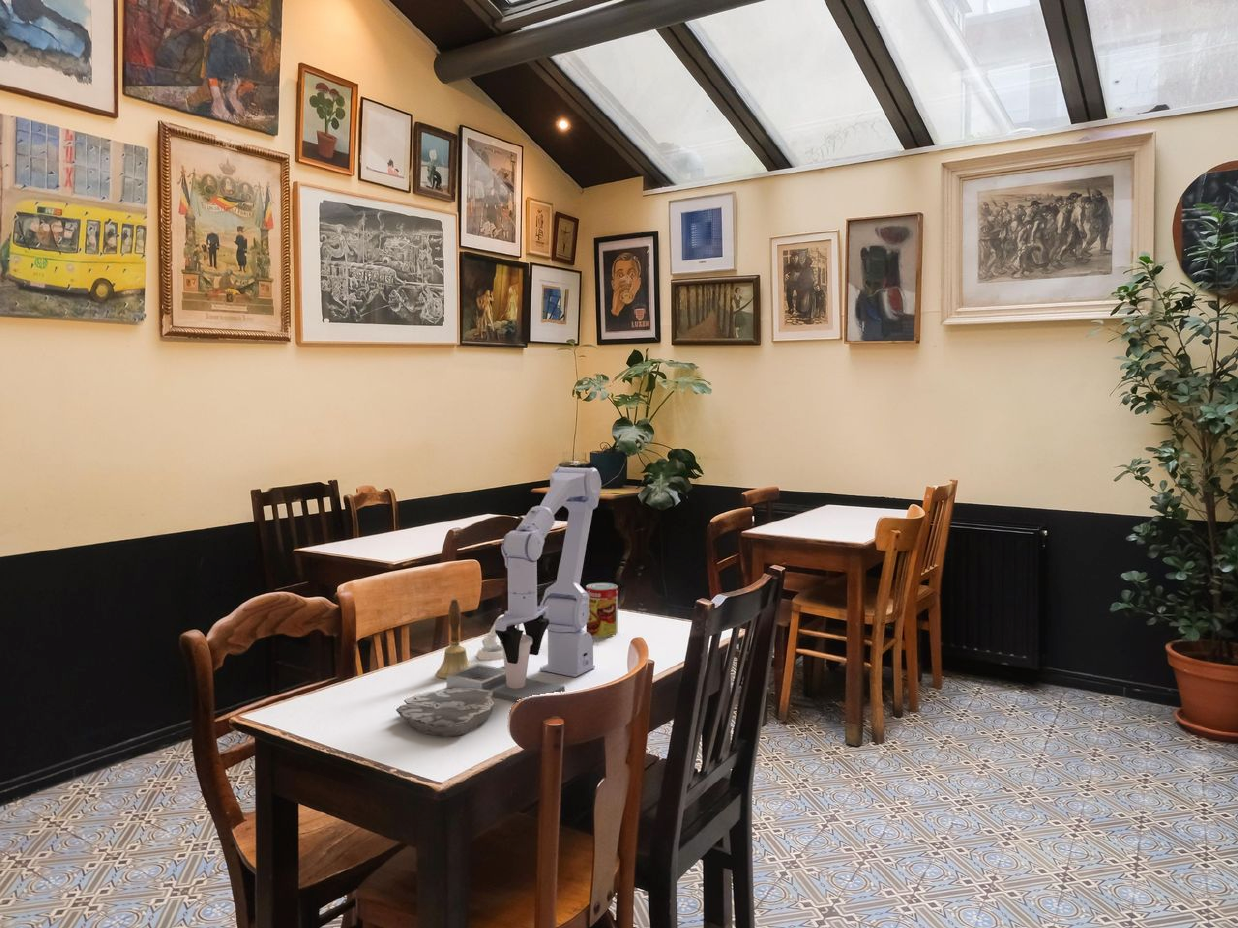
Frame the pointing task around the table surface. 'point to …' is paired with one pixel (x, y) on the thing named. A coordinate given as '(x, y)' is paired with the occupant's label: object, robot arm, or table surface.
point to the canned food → (602, 609)
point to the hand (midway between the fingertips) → (523, 658)
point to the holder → (467, 676)
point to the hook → (491, 646)
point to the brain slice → (448, 710)
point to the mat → (526, 690)
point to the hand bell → (453, 646)
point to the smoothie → (518, 664)
